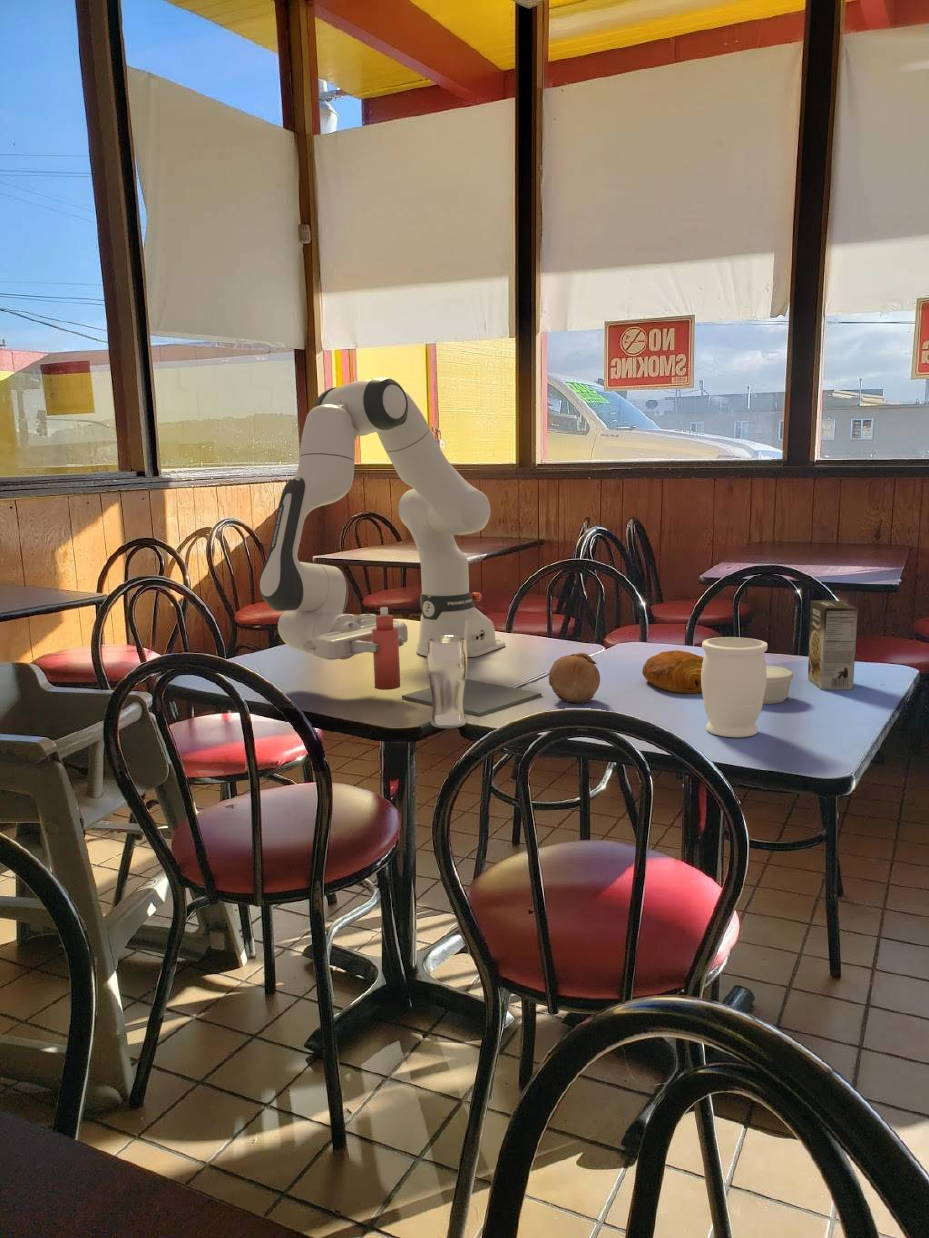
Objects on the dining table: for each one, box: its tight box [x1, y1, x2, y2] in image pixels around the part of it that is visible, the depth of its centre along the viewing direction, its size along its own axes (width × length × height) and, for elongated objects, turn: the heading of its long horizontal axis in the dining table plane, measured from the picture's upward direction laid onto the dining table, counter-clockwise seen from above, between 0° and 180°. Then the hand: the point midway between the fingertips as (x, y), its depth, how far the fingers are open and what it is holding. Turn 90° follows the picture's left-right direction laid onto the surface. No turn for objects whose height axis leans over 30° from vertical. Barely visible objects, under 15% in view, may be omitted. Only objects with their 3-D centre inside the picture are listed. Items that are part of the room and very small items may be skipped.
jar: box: [701, 636, 768, 738], centre depth 156 cm, size 11×10×15 cm
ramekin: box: [763, 664, 794, 705], centre depth 178 cm, size 11×11×5 cm
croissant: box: [641, 649, 704, 695], centre depth 189 cm, size 14×16×8 cm
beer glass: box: [426, 636, 468, 729], centre depth 164 cm, size 7×7×15 cm
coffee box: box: [807, 599, 858, 691], centre depth 186 cm, size 9×6×16 cm
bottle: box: [372, 606, 401, 691], centre depth 177 cm, size 5×5×15 cm
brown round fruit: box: [548, 652, 601, 704], centre depth 178 cm, size 10×9×10 cm
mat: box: [401, 678, 543, 717], centre depth 183 cm, size 18×20×1 cm
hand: (389, 644), depth 177 cm, fingers closed on bottle, 5 cm apart
